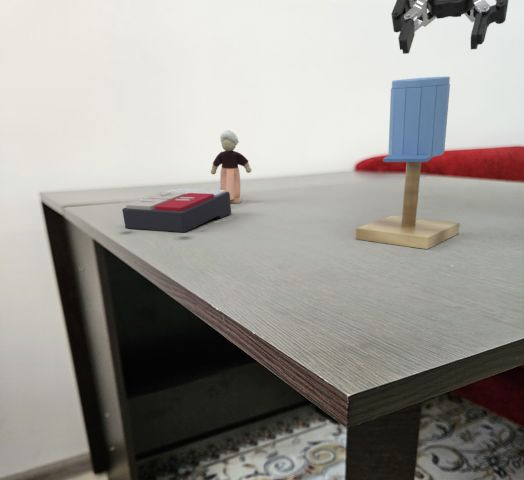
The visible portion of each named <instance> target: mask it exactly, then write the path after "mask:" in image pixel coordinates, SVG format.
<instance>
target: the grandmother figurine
mask: <svg viewBox="0 0 524 480" xmlns="http://www.w3.org/2000/svg"><path fill="white" fill-rule="evenodd" d="M219 139H220V143H221V147H222V149H223V151H220V152H219V153H218V154H217V155H216V157H215V159H214V160H213V162H212V166H211V169H210V174H211V175H216V173H217V170H218V169H219V167H220V166H221V168H220V175H219V177H220V178H219V179H220V181H219V184H220V186H219V187H220V188H219V190H226V192H229V193H230V204H241V202H242V201H241V199H240V198H241V174H240V173H241V172H240V168H239V166H241V167H243V168H244V169H245V172H246V173H247V174H249V173H251V172H252V168H251V167H250V166H251V165H250V164H249V159H247V158H246V156H244V155H243V154H241V152H238V151H235V149H236V146H237V145H238V144H239V143H240V141H239V138H238V137H237V135H236V133H234V132H233V131H231V130H229V129H228V130H224V131H222V132H221V134H220V138H219Z"/></svg>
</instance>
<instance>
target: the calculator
mask: <svg viewBox="0 0 524 480" xmlns="http://www.w3.org/2000/svg"><path fill="white" fill-rule="evenodd" d="M230 202H231V199H230V193H229V192H226V190H220V189H207V188H202V189H201V188H182V187H181V188H179V187H178V188H177V187H176V188H172V189H169V190H167V191H160V192H158V193H154V194H152V195H148V196H146V197H145V198H141V199H137V200H135V201H133V202H129V203H127V204H125V207H123V208H121V209H122V210H121V212H122V216H123V222H124V227H125V229H132V230H146V231H158V232H172V233H173V232H175V233H187V232H188V231H190V230H193V229H195V228H197V227H199V226H201V225H203V224H205V223H207V222H209V221H211V220H213V219H223V218H225V217H227V216H229V215H231V213H232V206H231V205H232V204H231V203H230Z"/></svg>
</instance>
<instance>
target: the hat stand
mask: <svg viewBox="0 0 524 480" xmlns="http://www.w3.org/2000/svg"><path fill="white" fill-rule="evenodd" d="M405 163H406V165H405V175H404V189H403V199H402V200H403V201H402V213H401V216H399V215H398V216H397V215H389V216H387V217H384V218H381V219H377V220H375V221H373V222H369V223H367V224H364V225H361V226H358V227H356V228H355V240H357V241H366V242H374V243H380V244H387V245H394V246H401V247H408V248H416V249H423V250H429V249H430V248H433V247H435V246H437V245H439V244H441V243H443V242H445V241H447V240H449V239H451V238H453V237H455V236H457V235H459V231H460V223H461V222H455V221H446V220H436V219H427V218H419V217H417V215H418V214H417V212H418V201H419V191H420V181H421V171H422V170H421V169H422V162H405Z"/></svg>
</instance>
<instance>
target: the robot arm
mask: <svg viewBox="0 0 524 480" xmlns="http://www.w3.org/2000/svg"><path fill="white" fill-rule="evenodd" d="M508 6H509V0H495V4H493V5H490V4H489V3H488V2H487V1H486V0H396V2H395V4H394V7H393V9H392V12H391V14H390V15H391V21H392V28H393V29H392V30H393V32H394V33H399V35H398V45H399V46H398V47H399V50H400V51H402V54H404V55H407V54H410V52H411V48H412V45H413V42H414V39H415V34H416V33H415V32H417V31H418V30H419V29H421V28H422V27H427V26H428V25H430V24H431V23H432V22H433V21H435V19H436V20H439V19H444V18H451V17H452V18H458V17H462V15H465V17H466V18H467V19H468V21H470V22H471V23H473V26H472V30H471V33H470V50H477V49H478V46H479V45H483V43H484V42H485V39H486V35H487V31H488V28H489V26H490V25H491V24H493V23H495V24H497V25H501V24H503V23H504V22H505V21H506V19H507V18H506V17H507V13H508ZM414 19H415V20H414Z"/></svg>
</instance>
